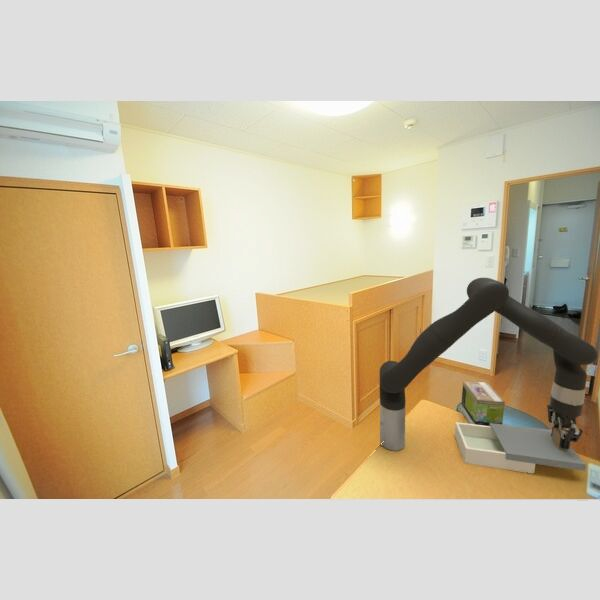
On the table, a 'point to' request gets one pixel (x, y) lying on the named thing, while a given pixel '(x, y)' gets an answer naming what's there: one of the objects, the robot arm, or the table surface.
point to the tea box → (481, 404)
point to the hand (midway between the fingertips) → (559, 442)
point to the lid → (536, 446)
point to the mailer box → (485, 448)
